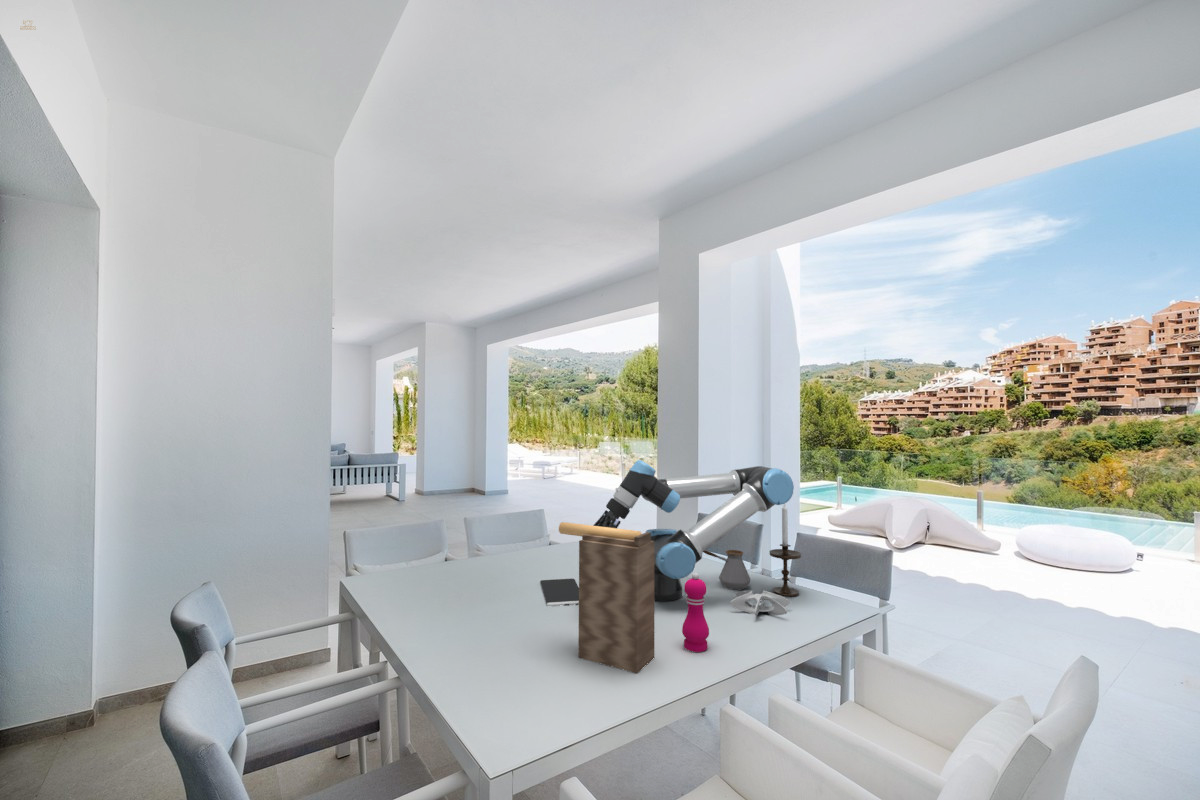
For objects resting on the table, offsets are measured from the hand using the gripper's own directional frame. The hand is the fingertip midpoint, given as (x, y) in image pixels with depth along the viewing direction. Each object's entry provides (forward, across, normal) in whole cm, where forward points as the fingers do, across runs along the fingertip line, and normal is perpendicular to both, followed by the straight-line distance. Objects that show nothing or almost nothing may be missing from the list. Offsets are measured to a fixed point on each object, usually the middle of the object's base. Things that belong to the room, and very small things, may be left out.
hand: (584, 558), depth 171 cm
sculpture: (-18, +11, +56) cm, 60 cm away
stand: (+12, +35, +11) cm, 39 cm away
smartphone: (+18, -20, +6) cm, 28 cm away
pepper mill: (-1, +33, +30) cm, 45 cm away
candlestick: (-28, -6, +71) cm, 77 cm away
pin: (-10, +31, -9) cm, 34 cm away
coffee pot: (-17, -16, +55) cm, 60 cm away
